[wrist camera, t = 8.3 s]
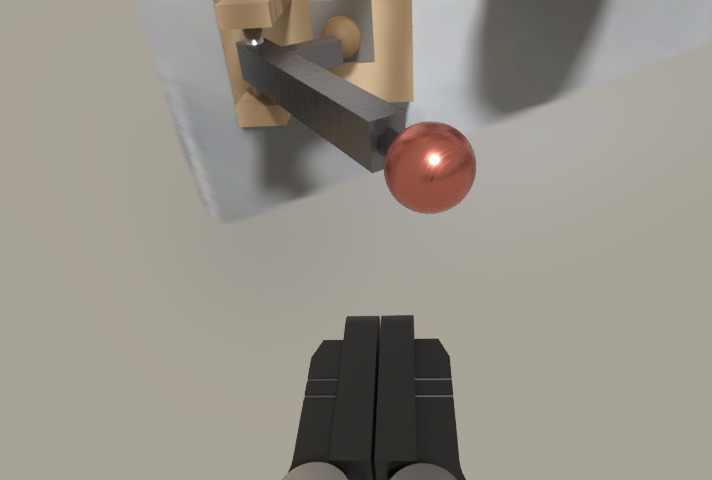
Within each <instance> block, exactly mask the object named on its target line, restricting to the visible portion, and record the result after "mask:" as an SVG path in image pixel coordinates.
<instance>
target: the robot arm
mask: <svg viewBox="0 0 712 480" xmlns="http://www.w3.org/2000/svg"><path fill="white" fill-rule="evenodd" d="M282 480H466V479H465V477H464V475H463V473H462V470H461V467H460V462H459V454H458V442H457V431H456V421H455V410H454V399H453V388H452V379H451V367H450V357H449V355H448V353H447V352H446V350H445V349H444V347H443V345H442V344H441V342H440V341H439V339H414V316H413V315H404V316H403V315H402V316H401V315H398V316H381V328H380V318H379V316H350V317H349V316H347V318H346V323H345V333H344V340H324V341H323V342H322V344H321V345H320V346H319V348H318V349H317V351H316V352H315V353H314V355H313V356H312V358H311V363H310V368H309V374H308V382H307V385H306V390H305V399H304V401H303V407H302V412H301V418H300V423H299V429H298V434H297V440H296V445H295V451H294V456H293V461H292V465H291V467H290V469H289V472H288V474H287V475H286V476H284V478H283V479H282Z"/></svg>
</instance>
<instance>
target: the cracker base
mask: <svg viewBox="0 0 712 480" xmlns="http://www.w3.org/2000/svg"><path fill="white" fill-rule="evenodd" d="M213 1H214V7H215V12H216V17H217V22H218V26H219V30H220V34H221V39H222V43H223V48H224V53H225V58H226V63H227V67H228V72H229V77H230V82H231V86H232V91H233V96H234V101H235V105H236V112H237V117H238V122H239V126H240V127H261V126H282V125H288V122H289V120H290V117H291V115H292V114H290V113H289V112H287V111H286V110H285V109H283V108H282V107H281V106H279V105H278V104H276V103H275V102H274V101H272V100H271V99H269V98H268V97H267V96H262V97H259V96H255V95H254V89H253V86H252V85H250V84H249V83H247V82H246V81H245V80H243V77H242V72H241V67H240V62H239V57H238V52H237V47H236V42H238V41H243V40H244V36H243V30H242V29H250V28H262V32H263V37H264V38H266V39H268V40H270V41H272V42H274V43H275V44H277V45H279V46H281V47H282V46H287V45H291V44H296V43H300V42H304V41H309V40H313V39H318V38H322V37H326V36H334V37H336V38H338V39H341V43H342V55H343V65H340V66H337V67H333V68H329V69H325V70H327V71H329V72H331V73H333V74H335V75H337V76H339V77H341V78H343V79H344V80H346V81H348V82H350V83H352V84H354V85H356V86H358V87H360V88H362V89H364V90H366V91H367V92H369V93H371V94H373V95H375V96H377V97H379V98H381V99H383V100H385V101H387V102H389V103H395V102H413V48H412V0H213Z"/></svg>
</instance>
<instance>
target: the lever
mask: <svg viewBox="0 0 712 480" xmlns="http://www.w3.org/2000/svg"><path fill="white" fill-rule="evenodd" d="M242 30H243V36H244V40H243V41H238V42H236V47H237V52H238V57H239V62H240V67H241V72H242V77H243V80H245V81H246V82H247V83H249V84H250V85H252V86H253V89H254V95H255V96H259V97H262V96H267V97H268V98H269V99H271V100H272V101H274V102H275V103H276V104H278V105H279V106H281V107H282V108H283V109H285V110H286V111H287V112H289V113H290V114H292V115H293V116H294V117H296V118H297V119H298V120H300V121H301V122H303V123H304V124H305V125H307V126H308V127H309V128H311V129H312V130H314V131H315V132H316V133H318V134H319V135H320V136H322V137H323V138H325V139H326V140H327V141H329V142H330V143H332V144H333V145H334V146H336V147H337V148H338V149H340V150H341V151H343V152H344V153H345V154H347V155H348V156H349V157H351V158H352V159H354V160H355V161H356V162H358V163H359V164H360V165H362V166H363V167H365V168H366V169H367V170H369V171H370V172H372V173H374V172H377V171H380V170H383V169H384V176H385V180H386V183H387V186H388V188H389V190H390V192H391V194H392V195H393V196H394V197H395V199H396V200H397V201H398V202H399V203H401V204H402V205H403V206H405V207H406V208H408V209H410V210H413V211H415V212H419V213H425V214H433V213H439V212H443V211H446V210H448V209H450V208H452V207H454V206H455V205H457V204H458V203H460V202H461V201H462V200H463V199H464V198H465V196H466V195H467V194H468V192H469V191H470V189H471V187H472V185H473V182H474V179H475V175H476V159H475V155H474V151H473V149H472V147H471V145H470V143H469V142H468V140H467V139H466V137H465V136H464V135H463V134H462V133H461V132H459V131H458V130H457V129H455V128H454V127H452V126H450V125H447V124H444V123H440V122H432V121H431V122H421V123H417V124H414V125H412V126H410V127H408V128H406V129H405V111H404V110H402V109H400V108H398V107H396V106H394V105H392V104H390V103H389V102H387V101H385V100H383V99H381V98H379V97H377V96H375V95H373V94H371V93H369V92H367V91H366V90H364V89H362V88H360V87H358V86H356V85H354V84H352V83H350V82H348V81H346V80H344V79H343V78H341V77H339V76H337V75H335V74H333V73H331V72H329V71H327V70H325V69H329V68H333V67H337V66H340V65H343V55H342V43H341V39H338V38H336V37H334V36H326V37H322V38H318V39H313V40H309V41H304V42H300V43H296V44H291V45H287V46H282V47H281V46H279V45H277V44H275V43H274V42H272V41H270V40H268V39H266V38H264V37H263V32H262V28H250V29H242Z"/></svg>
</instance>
